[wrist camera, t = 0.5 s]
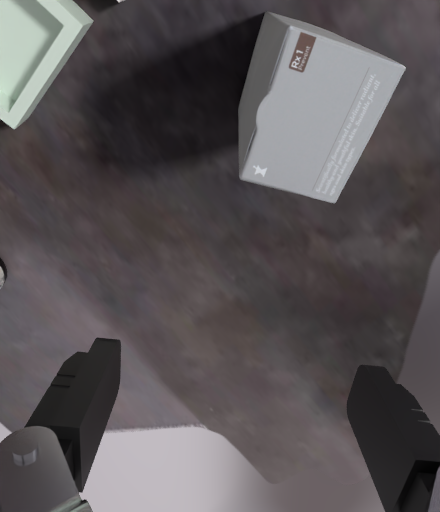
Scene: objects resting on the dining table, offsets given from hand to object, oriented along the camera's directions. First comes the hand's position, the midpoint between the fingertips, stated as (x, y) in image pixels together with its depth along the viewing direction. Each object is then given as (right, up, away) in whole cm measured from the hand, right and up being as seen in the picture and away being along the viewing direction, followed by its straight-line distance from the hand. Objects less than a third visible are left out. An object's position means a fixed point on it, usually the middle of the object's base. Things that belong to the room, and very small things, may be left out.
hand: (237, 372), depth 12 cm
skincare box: (+5, +20, +20) cm, 29 cm away
